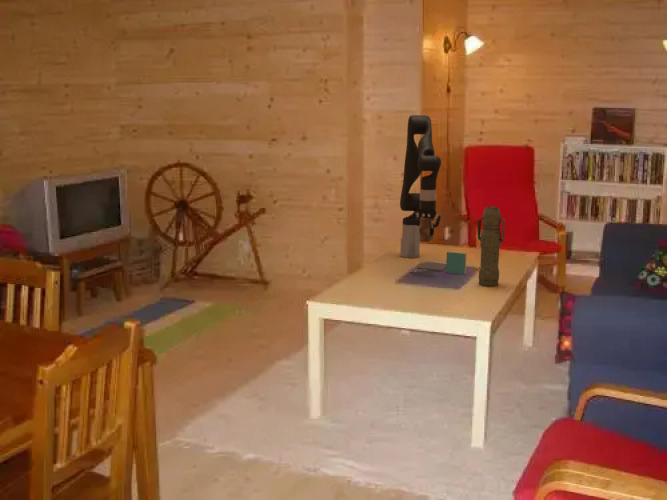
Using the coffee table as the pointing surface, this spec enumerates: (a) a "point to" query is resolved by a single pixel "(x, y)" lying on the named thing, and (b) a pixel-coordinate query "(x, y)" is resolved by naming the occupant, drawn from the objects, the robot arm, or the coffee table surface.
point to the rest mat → (433, 266)
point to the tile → (456, 262)
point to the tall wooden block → (425, 229)
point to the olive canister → (490, 246)
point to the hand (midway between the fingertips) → (426, 235)
